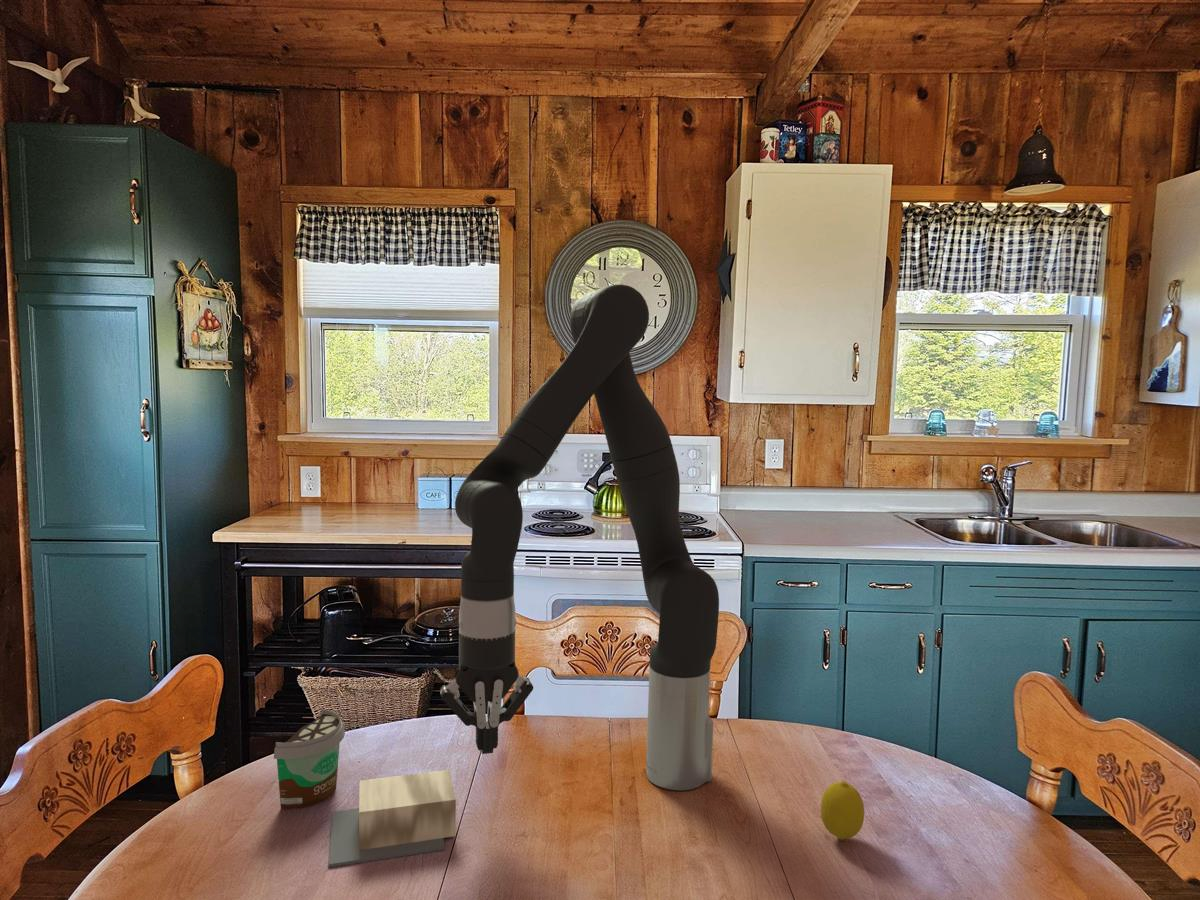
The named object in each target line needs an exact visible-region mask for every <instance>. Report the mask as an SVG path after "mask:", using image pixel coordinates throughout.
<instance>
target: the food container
mask: <svg viewBox="0 0 1200 900" xmlns="http://www.w3.org/2000/svg"><path fill="white" fill-rule="evenodd" d="M345 735H346V731H345V726H344V723H343V720H342V718H341V716H340V715H339V714H338V713H336V712H335V711H333V710H329V709H326V708H325V709H324V708H321V711H320V715H319V716H318V717H317V718H316V719H315V720H313V721H312V722H310V723H307V724H306V725H304V726H302V727H301V728H299V729H298V730H297V731H296V732H295V733H294V734H293V736H291V737H290V738H289V739H288V740H287V741H285V742H279V741H278V742H277V741H276V742H275V747H274V751H273V760H275V759H276V766H277V777H278V778H277V779H278V790H279V791H278V792H279V800H280V809H282V810H298V809H299V810H300V809H305V808H311V807H313V806H316V805H318V803H319V804H321V803H324V802H325V801H326V799H327V800H328V799H330V798H331V797H332V796H333V795H334V794H335V792H336V791H337V790H336V789H337V783H338V768H339V758H340V757H339V756H340V744H341V742H342V740H343V739H344V738H345ZM335 790H336V791H335ZM333 793H334V794H333ZM332 794H333V795H332ZM330 796H331V797H330ZM329 797H330V798H329ZM320 802H321V803H320Z"/></svg>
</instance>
